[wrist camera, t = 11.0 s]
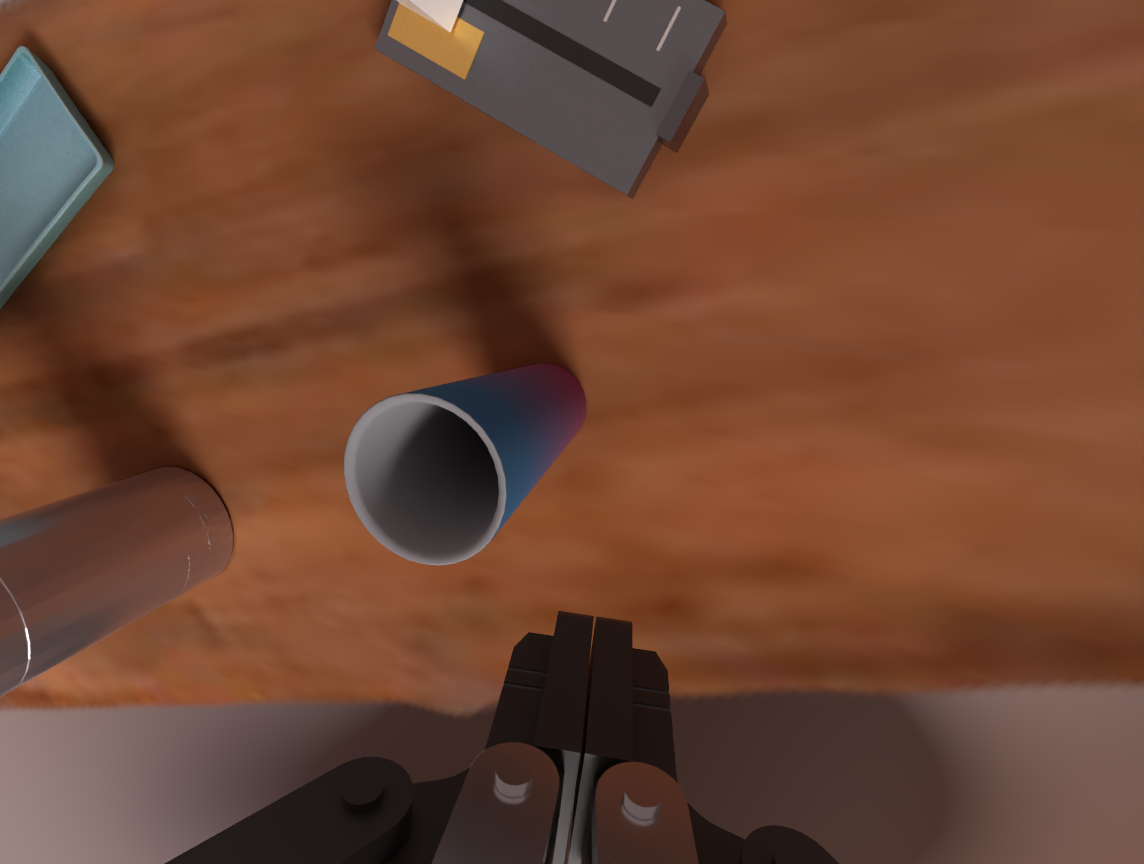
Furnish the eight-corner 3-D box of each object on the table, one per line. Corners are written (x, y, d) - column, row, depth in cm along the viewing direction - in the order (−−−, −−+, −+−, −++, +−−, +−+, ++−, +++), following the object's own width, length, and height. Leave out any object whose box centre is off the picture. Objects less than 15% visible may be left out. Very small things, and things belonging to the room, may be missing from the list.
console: (742, 32, 30) (741, 10, 28) (647, 207, 33) (637, 201, 31) (442, -129, 32) (414, -164, 30) (377, 50, 35) (347, 32, 33)
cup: (471, 396, 39) (312, 465, 25) (549, 323, 36) (420, 354, 22) (542, 480, 39) (422, 596, 25) (625, 413, 36) (543, 500, 23)
